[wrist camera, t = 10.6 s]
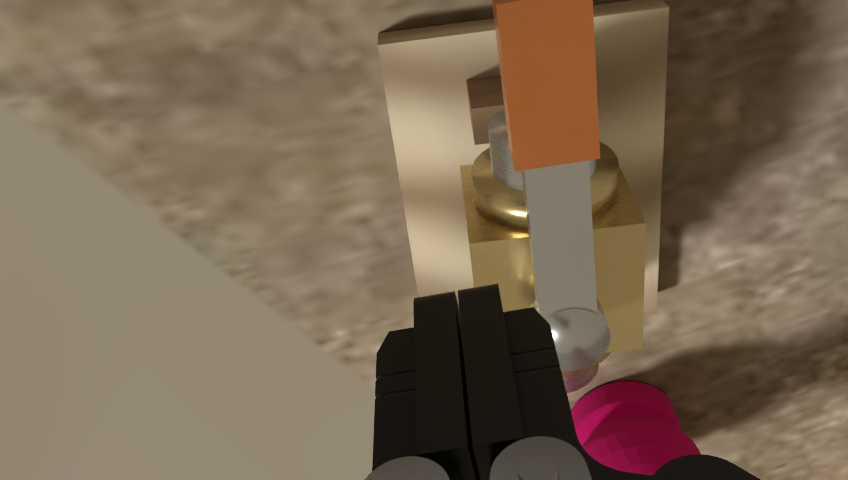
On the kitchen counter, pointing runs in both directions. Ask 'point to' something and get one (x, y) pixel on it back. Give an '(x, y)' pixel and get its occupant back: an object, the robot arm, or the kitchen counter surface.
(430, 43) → the board
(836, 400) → the kitchen counter surface
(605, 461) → the pepper mill
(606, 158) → the ball valve
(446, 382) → the robot arm
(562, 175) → the lever
